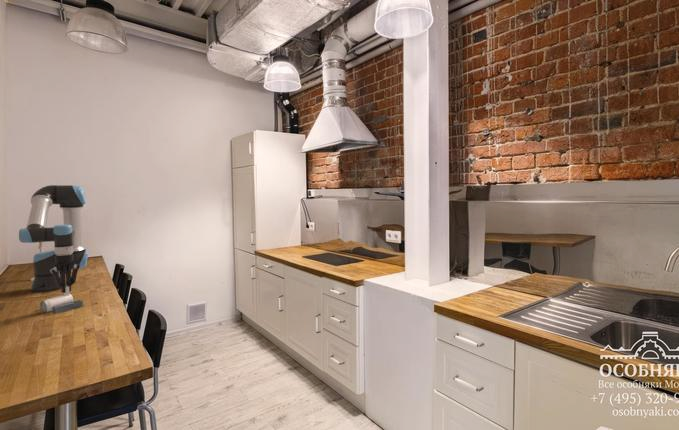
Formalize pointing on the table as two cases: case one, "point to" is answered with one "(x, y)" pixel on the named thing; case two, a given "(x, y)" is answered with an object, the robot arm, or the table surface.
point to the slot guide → (67, 306)
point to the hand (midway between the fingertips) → (66, 298)
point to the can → (55, 302)
